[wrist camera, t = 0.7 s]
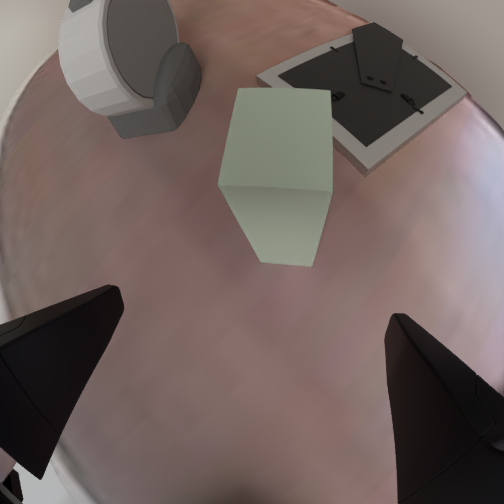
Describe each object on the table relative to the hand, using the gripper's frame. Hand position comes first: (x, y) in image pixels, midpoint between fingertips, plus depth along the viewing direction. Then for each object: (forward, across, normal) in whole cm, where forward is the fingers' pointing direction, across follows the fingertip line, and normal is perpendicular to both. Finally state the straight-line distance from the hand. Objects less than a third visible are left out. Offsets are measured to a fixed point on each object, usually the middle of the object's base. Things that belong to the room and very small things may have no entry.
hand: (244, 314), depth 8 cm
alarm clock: (+25, +16, -10) cm, 31 cm away
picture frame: (+27, -9, -11) cm, 30 cm away
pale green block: (+14, 0, +3) cm, 15 cm away
